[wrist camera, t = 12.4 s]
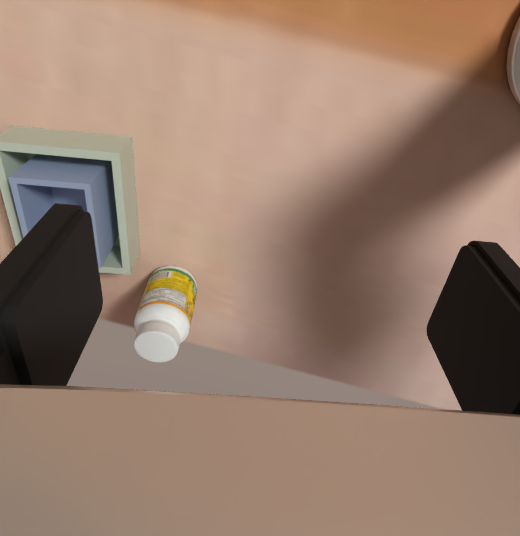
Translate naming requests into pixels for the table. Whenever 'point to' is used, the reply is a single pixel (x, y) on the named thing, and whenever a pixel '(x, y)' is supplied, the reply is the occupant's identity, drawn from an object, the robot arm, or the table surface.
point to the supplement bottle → (165, 313)
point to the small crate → (68, 194)
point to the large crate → (79, 146)
